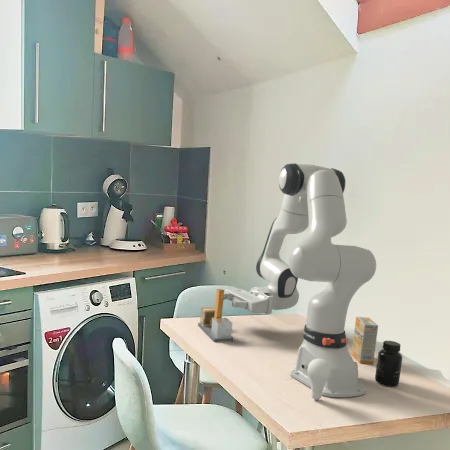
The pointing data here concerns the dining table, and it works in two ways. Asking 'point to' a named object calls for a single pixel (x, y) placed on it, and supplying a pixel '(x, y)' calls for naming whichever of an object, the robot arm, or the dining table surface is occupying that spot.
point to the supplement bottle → (389, 364)
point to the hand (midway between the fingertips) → (226, 300)
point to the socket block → (206, 315)
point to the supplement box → (364, 340)
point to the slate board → (208, 331)
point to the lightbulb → (318, 376)
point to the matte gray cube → (221, 328)
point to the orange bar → (218, 304)
